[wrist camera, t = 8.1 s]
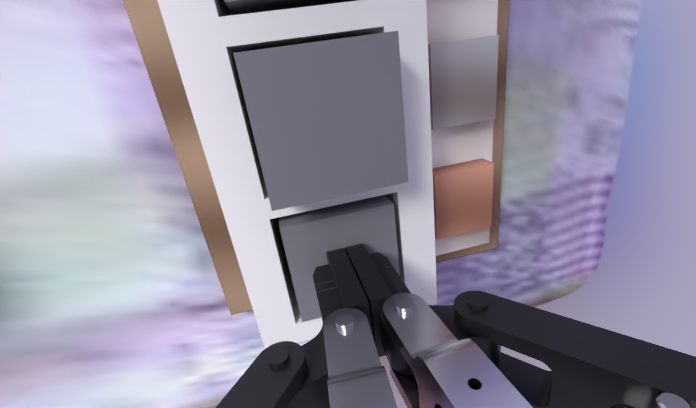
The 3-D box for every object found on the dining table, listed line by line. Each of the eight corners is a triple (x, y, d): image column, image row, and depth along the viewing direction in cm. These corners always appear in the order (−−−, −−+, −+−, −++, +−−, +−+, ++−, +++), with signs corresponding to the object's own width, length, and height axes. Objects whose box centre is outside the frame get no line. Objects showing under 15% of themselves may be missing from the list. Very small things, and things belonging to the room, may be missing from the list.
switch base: (72, -176, 11) (27, -233, 9) (502, -188, 14) (545, -235, 12) (232, 303, 19) (228, 332, 17) (487, 239, 21) (511, 257, 19)
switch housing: (133, -169, 11) (67, -291, 7) (370, -177, 12) (415, -284, 8) (265, 295, 18) (265, 351, 14) (405, 260, 19) (437, 303, 16)
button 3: (276, 192, 16) (279, 228, 12) (365, 174, 16) (393, 203, 13) (294, 270, 18) (301, 322, 14) (374, 251, 18) (401, 295, 15)
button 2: (242, 58, 12) (233, 53, 8) (360, 42, 13) (398, 30, 9) (270, 174, 14) (271, 210, 10) (372, 154, 14) (408, 182, 11)
